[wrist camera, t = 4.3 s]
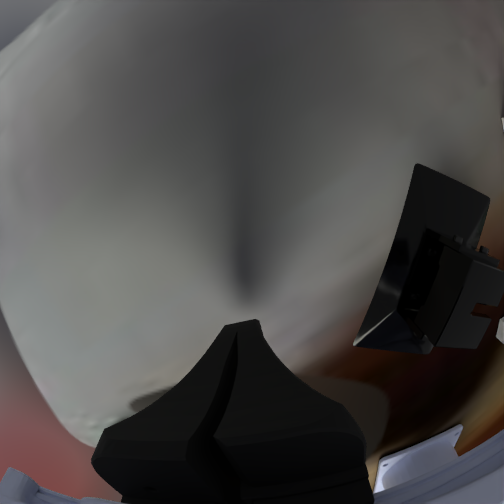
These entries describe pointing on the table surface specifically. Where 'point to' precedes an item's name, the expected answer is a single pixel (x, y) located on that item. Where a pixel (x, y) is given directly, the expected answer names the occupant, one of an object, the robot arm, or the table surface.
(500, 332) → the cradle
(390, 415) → the table surface
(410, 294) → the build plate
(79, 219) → the table surface
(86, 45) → the table surface
